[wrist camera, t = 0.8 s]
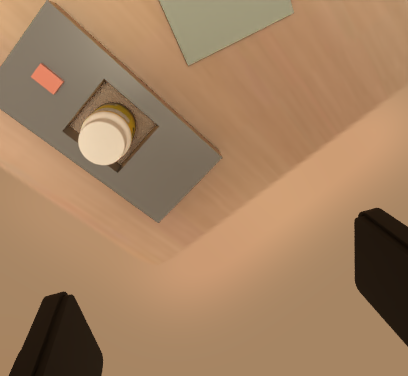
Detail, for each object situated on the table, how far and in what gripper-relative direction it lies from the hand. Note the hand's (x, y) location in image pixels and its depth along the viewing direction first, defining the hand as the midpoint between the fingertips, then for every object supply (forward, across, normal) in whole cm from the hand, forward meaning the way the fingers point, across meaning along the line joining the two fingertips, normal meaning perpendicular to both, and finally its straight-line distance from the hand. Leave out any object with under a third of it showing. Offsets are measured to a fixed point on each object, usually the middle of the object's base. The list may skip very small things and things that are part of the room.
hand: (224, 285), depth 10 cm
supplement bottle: (+29, +6, -1) cm, 29 cm away
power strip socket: (+28, +6, -1) cm, 29 cm away
